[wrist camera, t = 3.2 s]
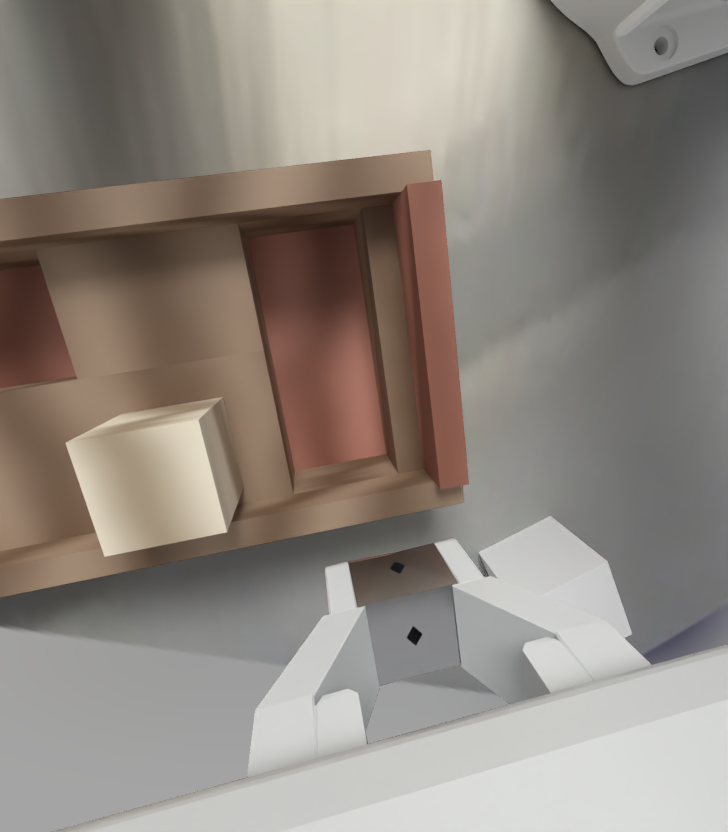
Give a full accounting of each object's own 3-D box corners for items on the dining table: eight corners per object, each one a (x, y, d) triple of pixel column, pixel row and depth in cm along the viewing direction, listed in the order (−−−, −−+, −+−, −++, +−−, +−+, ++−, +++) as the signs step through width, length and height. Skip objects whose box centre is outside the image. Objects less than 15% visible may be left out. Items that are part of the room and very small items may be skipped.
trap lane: (399, 191, 24) (437, 140, 17) (431, 464, 28) (471, 510, 21) (-221, 268, 21) (-479, 242, 14) (-82, 563, 25) (-227, 655, 18)
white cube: (477, 551, 30) (518, 606, 24) (549, 514, 30) (607, 560, 24) (504, 612, 32) (549, 677, 26) (573, 577, 32) (633, 634, 26)
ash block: (222, 397, 21) (198, 420, 16) (244, 486, 22) (227, 532, 17) (121, 414, 21) (65, 442, 16) (148, 504, 22) (104, 556, 17)
